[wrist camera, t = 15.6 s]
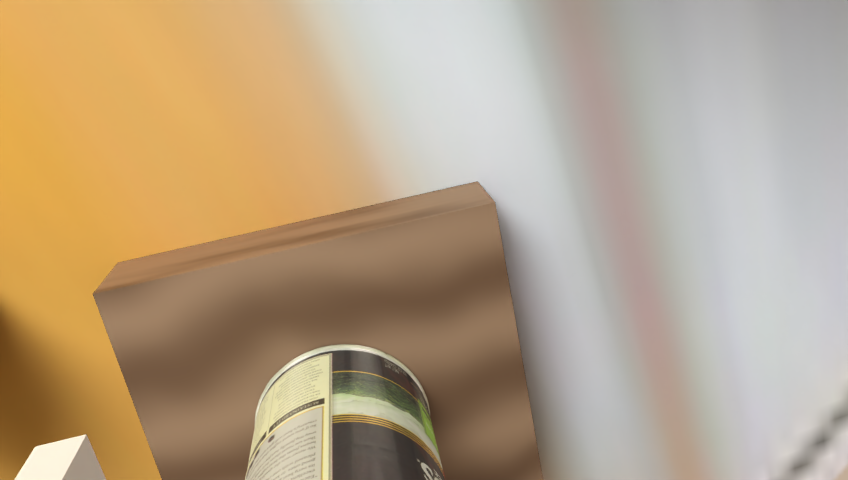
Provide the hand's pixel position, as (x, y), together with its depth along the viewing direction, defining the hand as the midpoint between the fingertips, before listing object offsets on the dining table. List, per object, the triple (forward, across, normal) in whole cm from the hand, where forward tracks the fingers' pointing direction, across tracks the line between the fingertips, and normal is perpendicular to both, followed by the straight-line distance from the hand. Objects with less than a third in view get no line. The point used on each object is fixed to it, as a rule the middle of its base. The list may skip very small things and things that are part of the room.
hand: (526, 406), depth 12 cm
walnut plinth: (+33, -7, -17) cm, 38 cm away
